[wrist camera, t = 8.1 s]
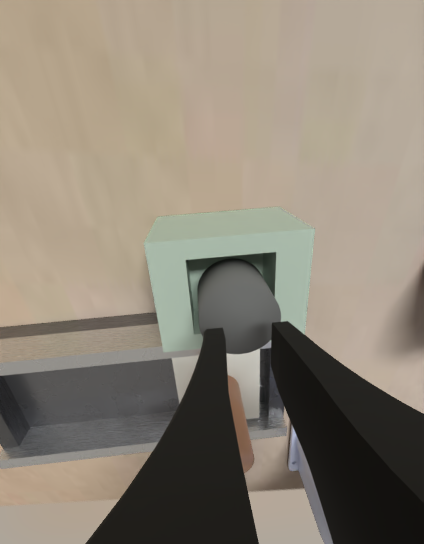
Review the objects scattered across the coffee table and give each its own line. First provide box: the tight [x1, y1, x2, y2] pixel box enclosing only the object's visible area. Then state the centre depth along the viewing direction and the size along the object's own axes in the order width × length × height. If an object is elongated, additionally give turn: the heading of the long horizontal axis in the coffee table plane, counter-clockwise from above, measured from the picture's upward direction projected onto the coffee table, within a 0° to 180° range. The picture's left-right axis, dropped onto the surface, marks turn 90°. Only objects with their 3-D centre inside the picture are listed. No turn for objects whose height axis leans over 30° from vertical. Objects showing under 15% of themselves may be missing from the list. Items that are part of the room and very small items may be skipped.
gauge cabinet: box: [144, 207, 315, 352], centre depth 16 cm, size 6×8×6 cm
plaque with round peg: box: [172, 349, 260, 473], centre depth 18 cm, size 7×6×6 cm
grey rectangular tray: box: [0, 312, 287, 469], centre depth 20 cm, size 10×22×4 cm, turn 94°
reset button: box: [197, 258, 281, 354], centre depth 13 cm, size 4×4×3 cm
